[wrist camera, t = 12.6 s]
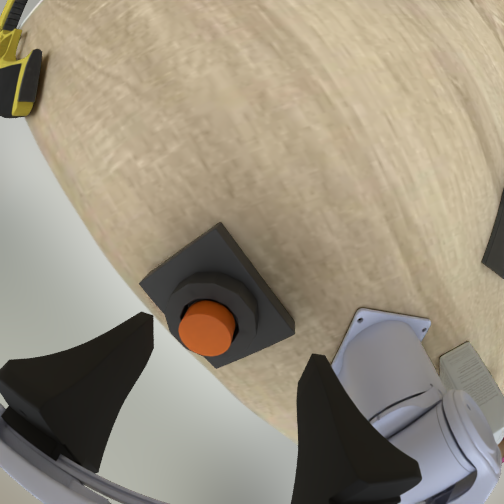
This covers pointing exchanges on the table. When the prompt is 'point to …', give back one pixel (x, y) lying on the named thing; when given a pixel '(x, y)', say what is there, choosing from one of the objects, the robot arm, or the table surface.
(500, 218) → the dark gray box base
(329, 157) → the table surface
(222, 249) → the block
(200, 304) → the button
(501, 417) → the cosmetic box
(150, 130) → the table surface
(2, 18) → the handgun
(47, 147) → the table surface
